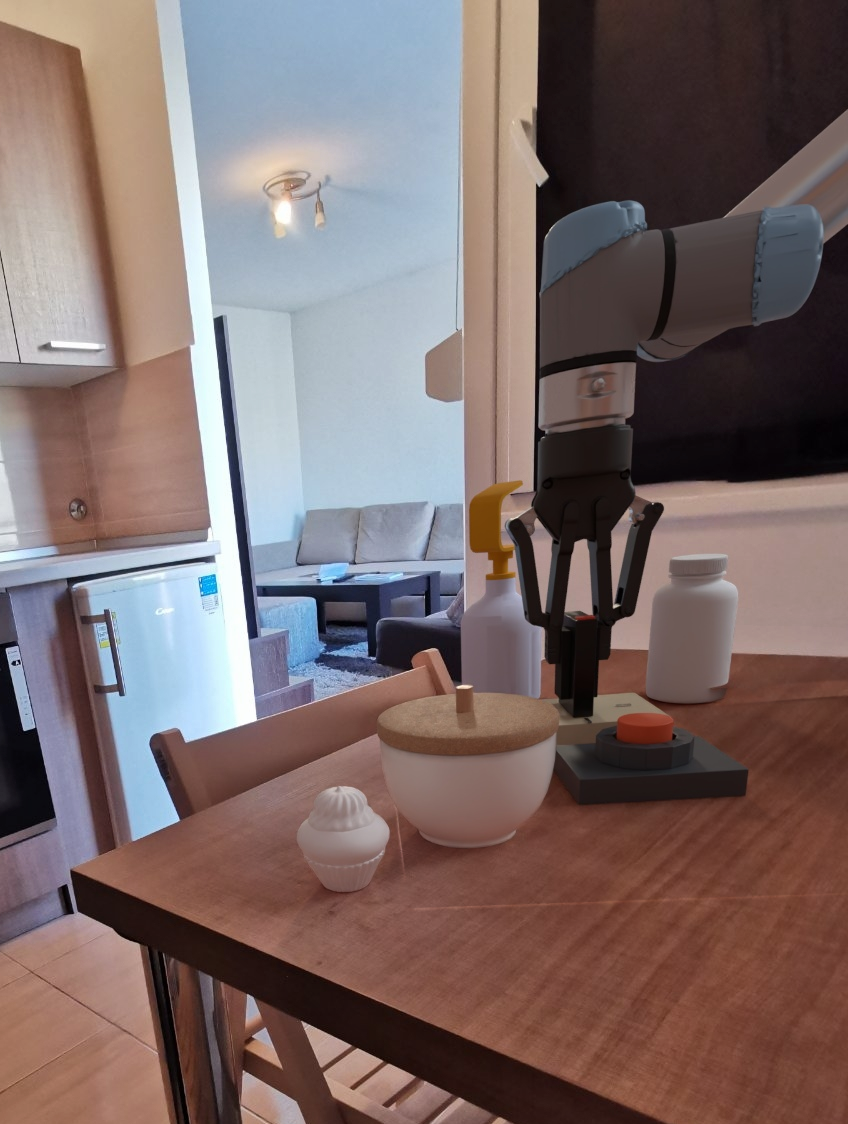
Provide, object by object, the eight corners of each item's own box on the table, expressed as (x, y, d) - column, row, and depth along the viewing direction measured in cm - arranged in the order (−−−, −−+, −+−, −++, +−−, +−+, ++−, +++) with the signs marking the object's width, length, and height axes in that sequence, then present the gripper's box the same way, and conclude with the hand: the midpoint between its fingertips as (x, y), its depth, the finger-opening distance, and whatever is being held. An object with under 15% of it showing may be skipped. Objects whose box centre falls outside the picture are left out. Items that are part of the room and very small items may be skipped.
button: (661, 731, 63) (662, 710, 62) (680, 745, 59) (681, 723, 59) (610, 734, 64) (611, 714, 63) (625, 748, 60) (626, 727, 59)
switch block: (697, 760, 66) (701, 715, 65) (745, 796, 58) (751, 746, 56) (551, 769, 68) (552, 726, 67) (579, 805, 60) (580, 757, 58)
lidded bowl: (366, 859, 55) (356, 711, 51) (400, 797, 66) (393, 671, 62) (554, 870, 50) (558, 707, 46) (557, 801, 61) (561, 664, 57)
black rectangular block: (558, 702, 77) (560, 609, 74) (577, 701, 77) (580, 607, 74) (572, 717, 71) (576, 618, 68) (593, 716, 71) (597, 616, 68)
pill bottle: (725, 706, 79) (741, 557, 74) (640, 704, 84) (649, 563, 79) (729, 688, 85) (744, 549, 80) (649, 687, 90) (659, 555, 85)
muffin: (304, 907, 49) (294, 807, 47) (298, 867, 55) (289, 776, 53) (400, 898, 49) (395, 796, 47) (383, 858, 55) (378, 766, 52)
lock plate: (632, 720, 79) (634, 690, 78) (669, 749, 69) (672, 715, 68) (492, 730, 81) (492, 701, 80) (510, 759, 72) (510, 727, 70)
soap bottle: (556, 695, 91) (561, 475, 83) (506, 713, 87) (507, 481, 78) (495, 687, 98) (494, 483, 90) (446, 703, 94) (440, 490, 85)
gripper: (501, 436, 63) (501, 710, 72) (695, 410, 61) (672, 698, 69) (489, 443, 70) (490, 692, 78) (662, 420, 68) (645, 680, 76)
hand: (575, 694), depth 74 cm, fingers closed on black rectangular block, 2 cm apart
